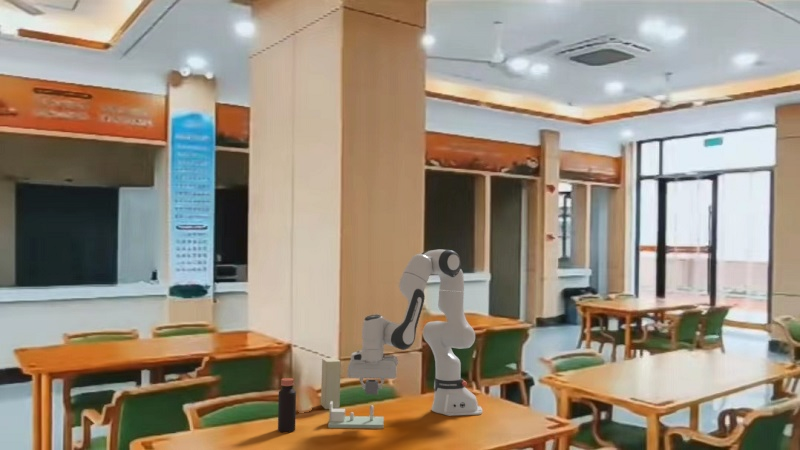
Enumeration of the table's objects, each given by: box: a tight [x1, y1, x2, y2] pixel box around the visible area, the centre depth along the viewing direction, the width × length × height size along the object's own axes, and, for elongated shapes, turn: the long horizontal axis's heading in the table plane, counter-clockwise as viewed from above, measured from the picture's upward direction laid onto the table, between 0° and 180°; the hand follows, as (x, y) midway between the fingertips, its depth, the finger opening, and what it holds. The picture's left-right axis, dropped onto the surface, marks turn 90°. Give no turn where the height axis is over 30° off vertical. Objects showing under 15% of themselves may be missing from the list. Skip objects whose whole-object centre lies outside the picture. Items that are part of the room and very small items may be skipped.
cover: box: [328, 401, 346, 422], centre depth 271 cm, size 6×5×7 cm
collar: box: [364, 378, 379, 396], centre depth 271 cm, size 5×5×5 cm
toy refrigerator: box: [320, 357, 342, 410], centre depth 298 cm, size 8×7×21 cm
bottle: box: [277, 377, 297, 433], centre depth 261 cm, size 7×7×20 cm
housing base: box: [327, 404, 385, 430], centre depth 271 cm, size 22×12×8 cm, turn 91°
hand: (371, 388), depth 271 cm, fingers closed on collar, 5 cm apart
